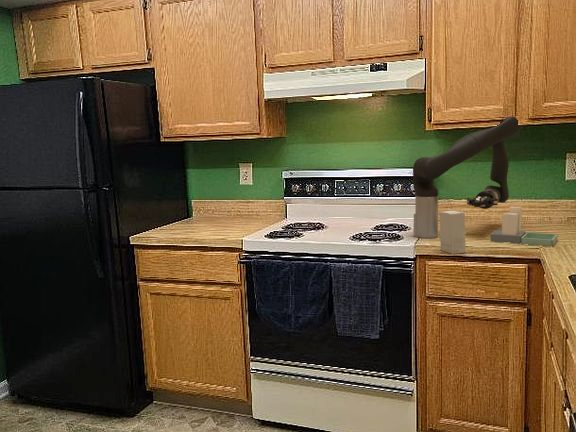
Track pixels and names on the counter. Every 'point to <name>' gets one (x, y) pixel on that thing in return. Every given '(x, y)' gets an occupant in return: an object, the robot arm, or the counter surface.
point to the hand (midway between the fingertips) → (476, 204)
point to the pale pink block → (510, 223)
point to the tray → (539, 239)
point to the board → (506, 237)
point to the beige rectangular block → (519, 211)
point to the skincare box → (452, 231)
